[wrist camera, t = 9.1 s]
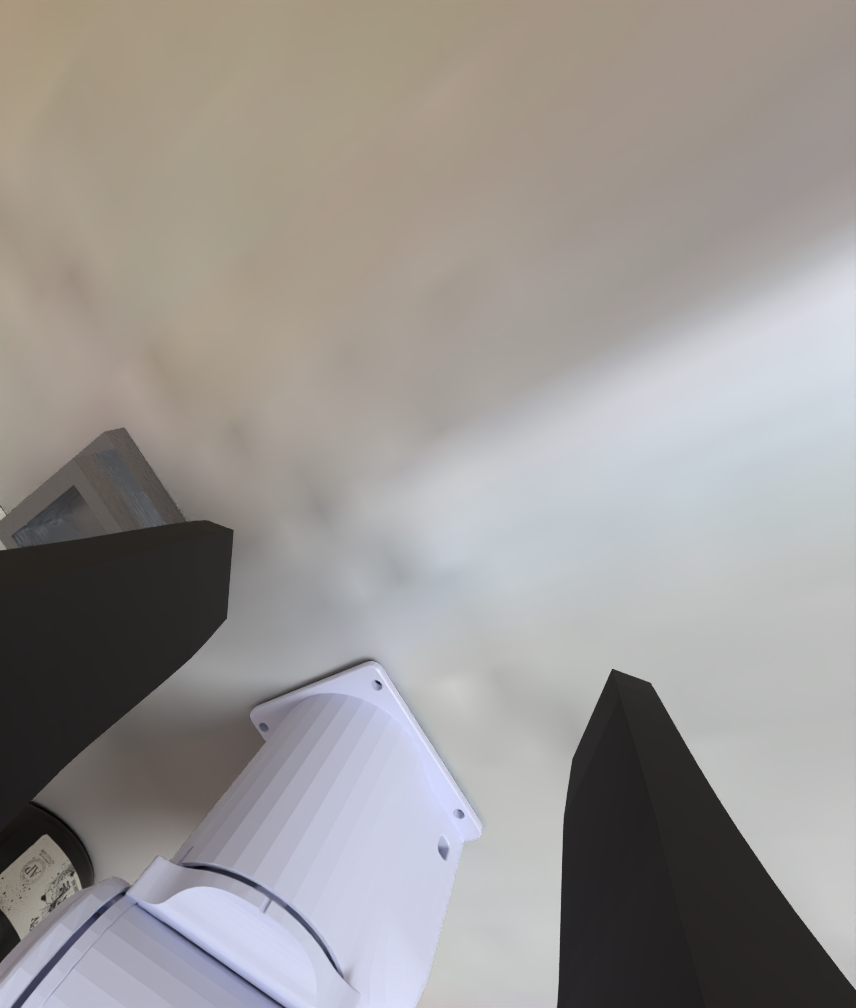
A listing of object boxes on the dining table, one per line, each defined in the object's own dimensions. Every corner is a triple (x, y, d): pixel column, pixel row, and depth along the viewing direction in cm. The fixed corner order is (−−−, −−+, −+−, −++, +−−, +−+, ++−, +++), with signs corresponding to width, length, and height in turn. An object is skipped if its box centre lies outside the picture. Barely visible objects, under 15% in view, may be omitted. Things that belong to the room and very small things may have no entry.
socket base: (225, 580, 24) (186, 606, 22) (123, 637, 27) (80, 665, 25) (124, 427, 23) (72, 438, 21) (30, 505, 26) (-23, 522, 24)
